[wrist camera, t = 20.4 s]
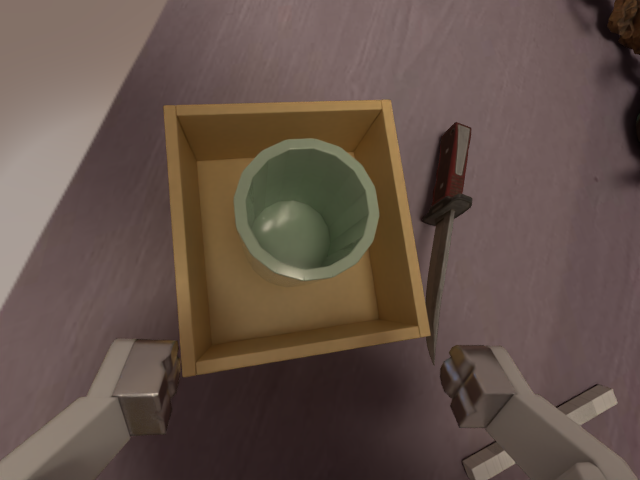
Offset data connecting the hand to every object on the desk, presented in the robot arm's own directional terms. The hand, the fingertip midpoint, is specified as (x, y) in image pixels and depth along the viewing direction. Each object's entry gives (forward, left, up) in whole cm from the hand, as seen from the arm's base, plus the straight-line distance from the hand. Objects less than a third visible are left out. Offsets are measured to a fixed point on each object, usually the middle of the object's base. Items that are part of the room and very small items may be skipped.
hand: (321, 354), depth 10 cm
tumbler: (+1, +5, -13) cm, 14 cm away
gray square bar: (+17, -10, -12) cm, 23 cm away
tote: (+1, +5, -13) cm, 14 cm away
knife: (+11, +5, -13) cm, 18 cm away
